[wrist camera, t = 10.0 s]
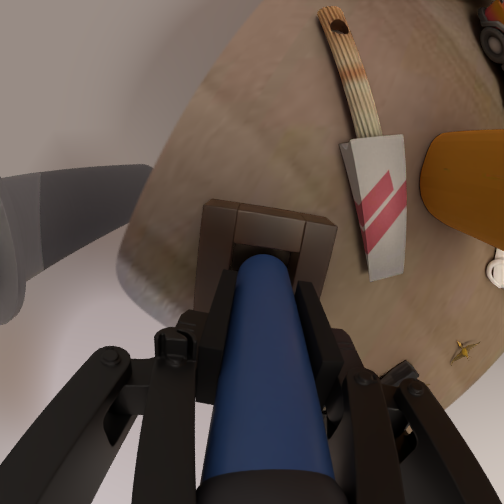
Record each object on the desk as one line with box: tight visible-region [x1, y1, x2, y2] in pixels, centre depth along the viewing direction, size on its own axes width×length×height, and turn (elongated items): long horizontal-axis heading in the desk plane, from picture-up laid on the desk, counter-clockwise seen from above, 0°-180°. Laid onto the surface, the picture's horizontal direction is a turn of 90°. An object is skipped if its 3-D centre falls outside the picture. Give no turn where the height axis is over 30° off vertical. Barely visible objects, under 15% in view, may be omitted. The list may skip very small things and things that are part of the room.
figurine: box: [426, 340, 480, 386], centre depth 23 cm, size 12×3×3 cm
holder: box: [193, 199, 338, 313], centre depth 19 cm, size 8×8×3 cm
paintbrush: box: [317, 6, 407, 282], centre depth 16 cm, size 4×3×20 cm
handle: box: [196, 254, 349, 504], centre depth 10 cm, size 4×4×16 cm
